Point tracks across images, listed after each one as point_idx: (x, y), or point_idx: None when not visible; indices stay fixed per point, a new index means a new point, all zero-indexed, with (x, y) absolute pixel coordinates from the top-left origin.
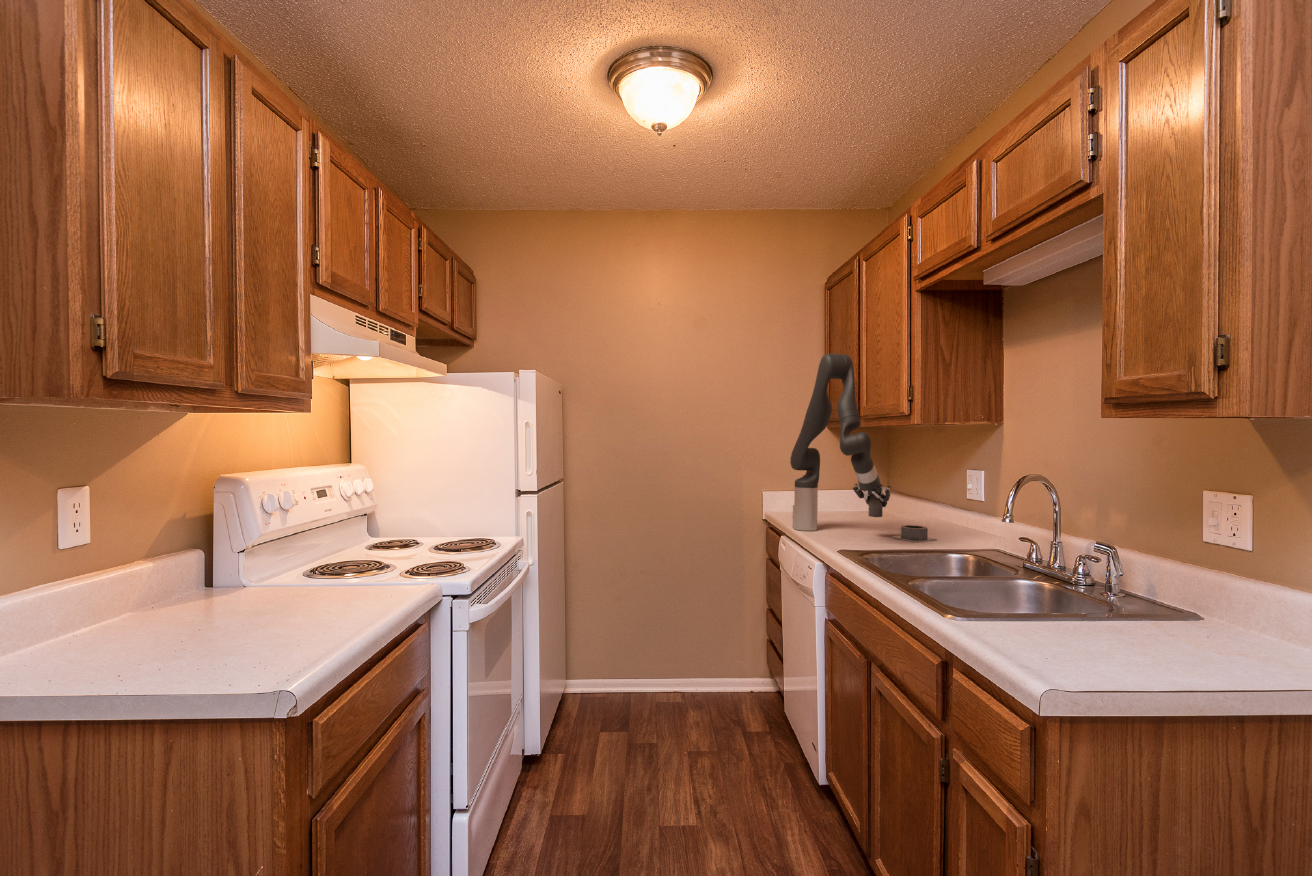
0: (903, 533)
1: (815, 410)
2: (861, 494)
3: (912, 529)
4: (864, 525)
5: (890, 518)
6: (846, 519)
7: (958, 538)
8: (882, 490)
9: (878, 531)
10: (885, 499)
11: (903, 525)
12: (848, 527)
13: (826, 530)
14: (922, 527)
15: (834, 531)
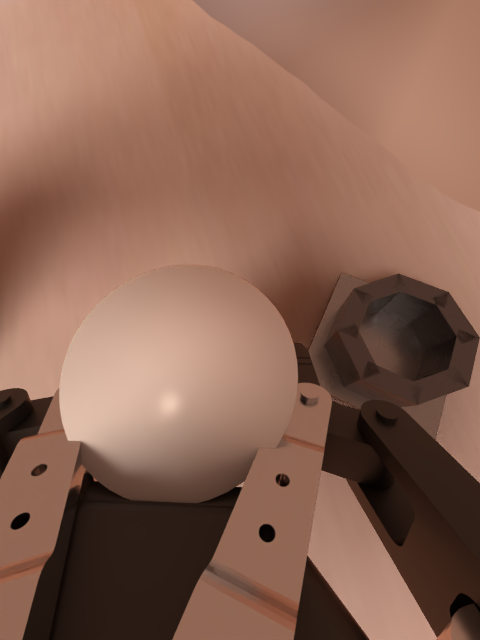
0: (363, 389)
1: None
2: (10, 456)
3: (428, 399)
4: (121, 160)
5: (160, 19)
6: (46, 94)
7: (477, 214)
8: (322, 460)
9: (197, 247)
10: (351, 484)
11: (345, 318)
12: (78, 231)
13: (5, 359)
14: (432, 305)
15: (40, 362)
